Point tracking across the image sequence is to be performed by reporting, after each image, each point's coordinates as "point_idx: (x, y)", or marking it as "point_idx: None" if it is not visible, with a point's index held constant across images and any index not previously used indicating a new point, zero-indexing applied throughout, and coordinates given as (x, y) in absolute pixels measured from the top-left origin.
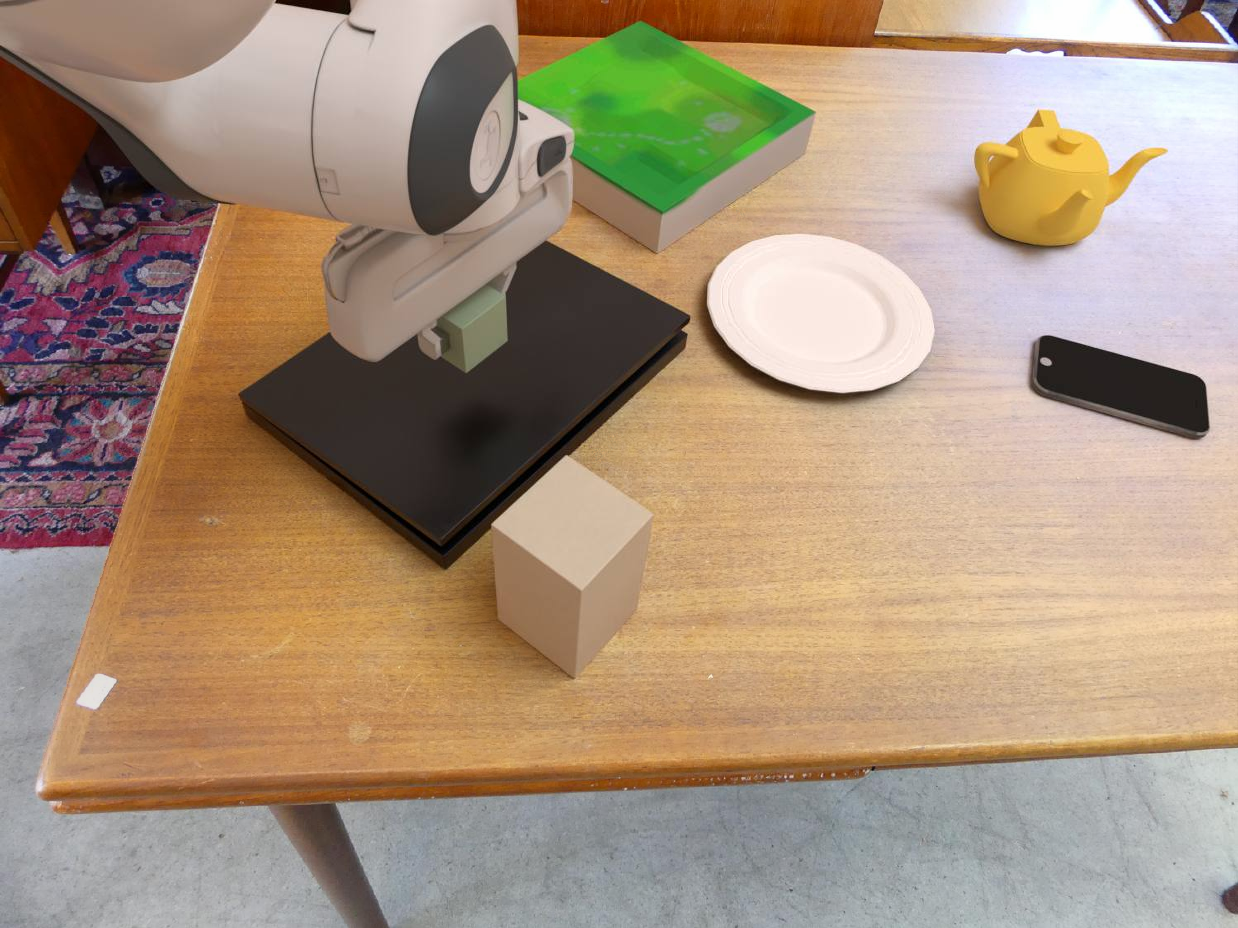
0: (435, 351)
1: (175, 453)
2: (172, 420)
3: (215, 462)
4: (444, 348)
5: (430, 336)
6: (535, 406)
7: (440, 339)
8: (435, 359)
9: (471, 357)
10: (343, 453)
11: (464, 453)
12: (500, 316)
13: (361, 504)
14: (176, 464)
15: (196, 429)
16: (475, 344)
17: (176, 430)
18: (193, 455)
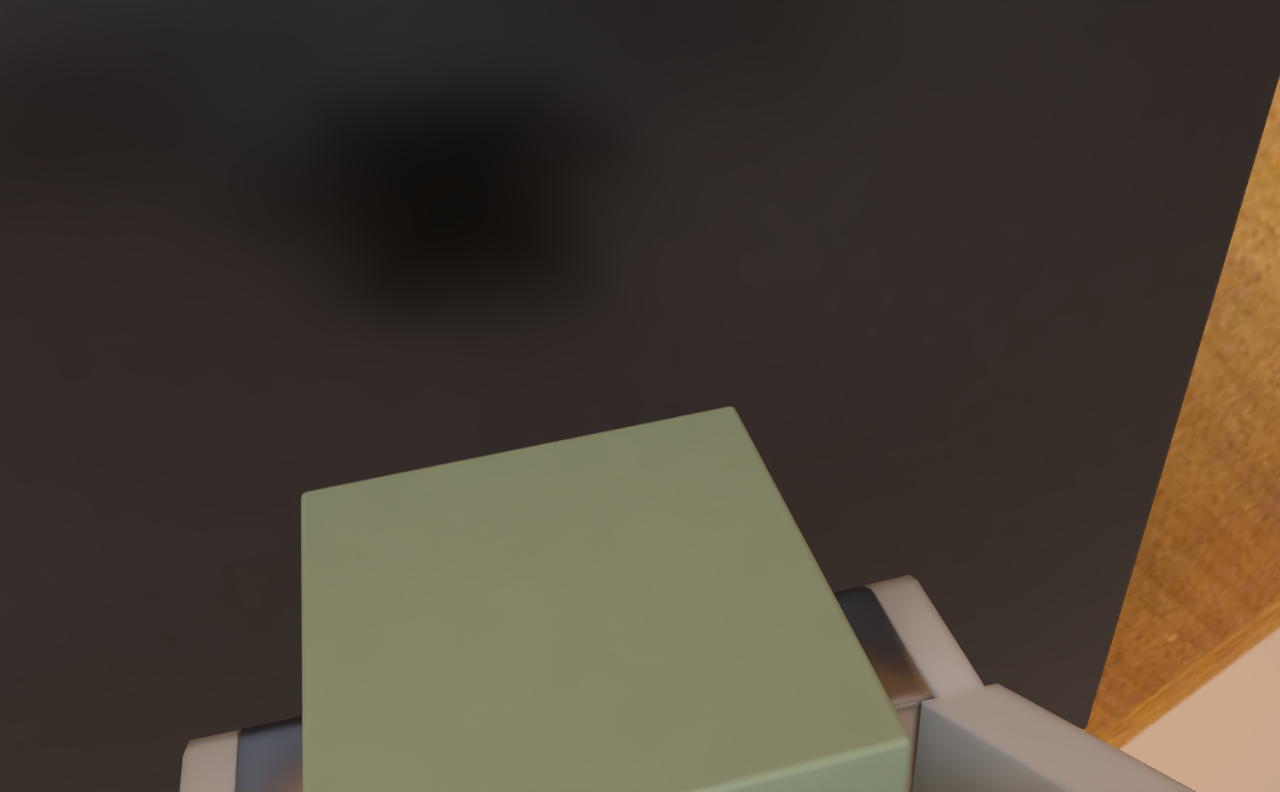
0: (947, 630)
1: (1228, 619)
2: (1144, 709)
3: (1203, 547)
4: (852, 624)
5: (1087, 764)
6: (287, 16)
7: (933, 704)
8: (904, 577)
9: (707, 485)
10: (1142, 358)
11: (856, 9)
12: (386, 706)
13: None
14: (1257, 588)
15: (1137, 661)
16: (683, 562)
17: (1166, 679)
18: (1212, 594)
